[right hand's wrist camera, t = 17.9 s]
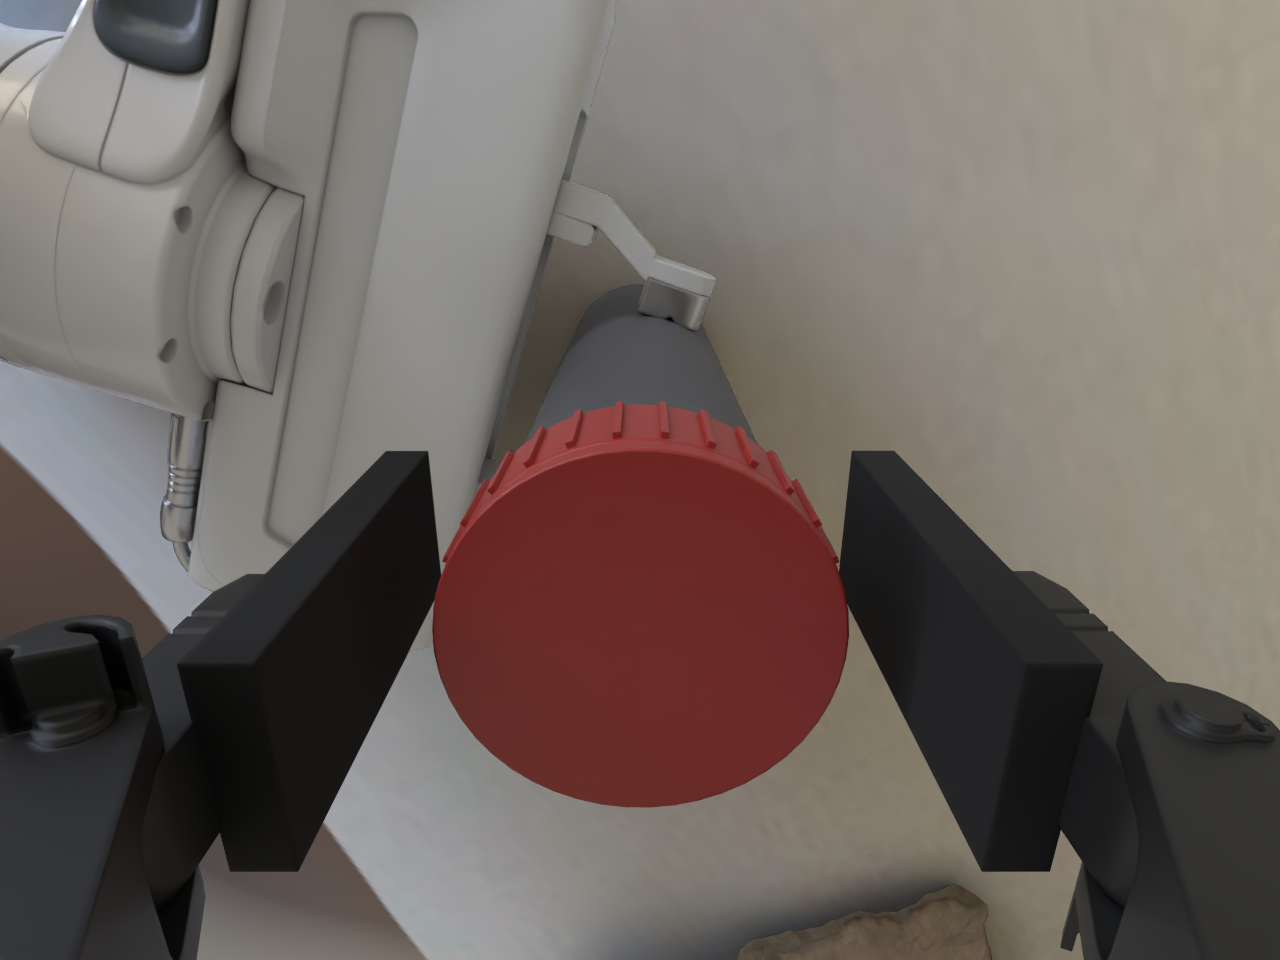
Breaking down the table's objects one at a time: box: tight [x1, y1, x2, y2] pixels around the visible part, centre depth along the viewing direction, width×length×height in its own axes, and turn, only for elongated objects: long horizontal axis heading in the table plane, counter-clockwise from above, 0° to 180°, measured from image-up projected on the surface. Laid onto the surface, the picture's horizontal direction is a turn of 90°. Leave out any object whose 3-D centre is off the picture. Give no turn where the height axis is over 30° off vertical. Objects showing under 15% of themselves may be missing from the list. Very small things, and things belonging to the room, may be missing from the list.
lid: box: [432, 401, 849, 807], centre depth 11 cm, size 6×6×2 cm
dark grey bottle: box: [523, 285, 758, 445], centre depth 20 cm, size 5×5×19 cm
